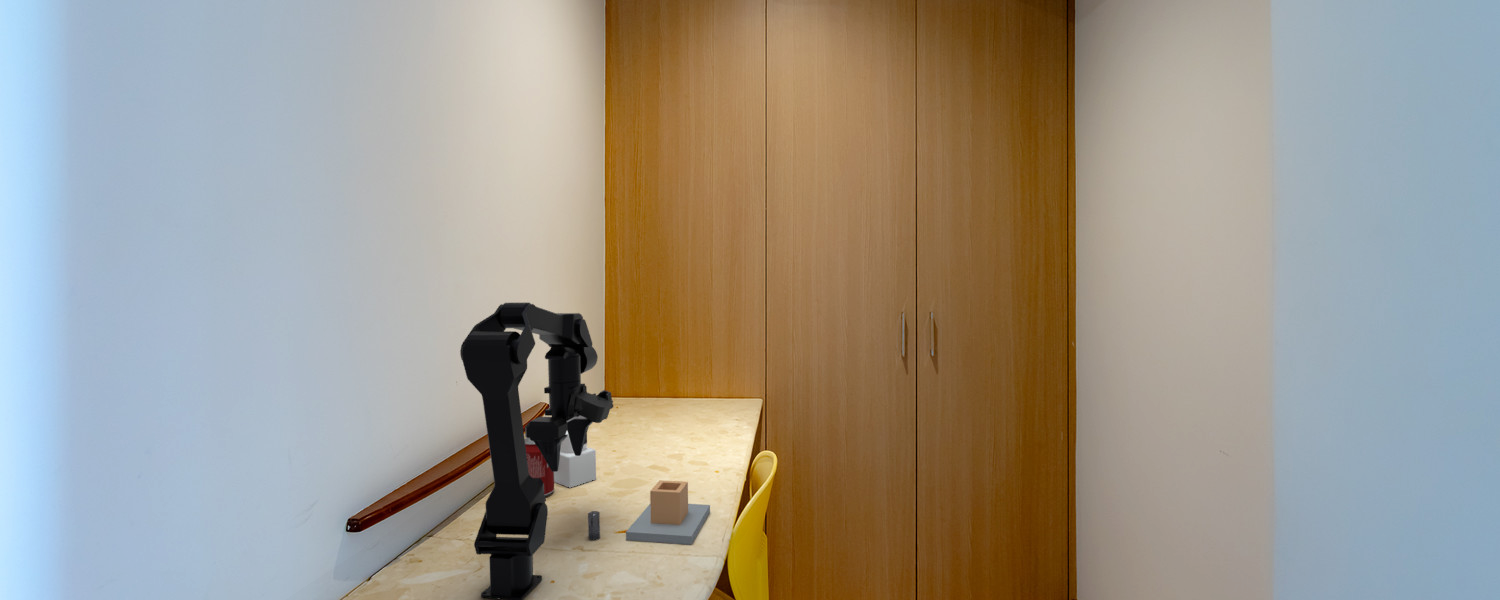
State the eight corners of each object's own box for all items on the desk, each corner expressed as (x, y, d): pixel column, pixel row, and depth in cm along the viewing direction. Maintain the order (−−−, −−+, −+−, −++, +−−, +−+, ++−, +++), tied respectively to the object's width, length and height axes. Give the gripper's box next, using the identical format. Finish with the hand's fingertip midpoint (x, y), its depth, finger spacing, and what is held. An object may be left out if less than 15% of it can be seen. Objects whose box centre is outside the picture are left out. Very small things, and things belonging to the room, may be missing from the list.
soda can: (543, 501, 123) (542, 444, 123) (514, 499, 125) (512, 443, 124) (560, 489, 130) (558, 435, 129) (532, 487, 131) (530, 434, 131)
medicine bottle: (578, 473, 141) (577, 423, 140) (596, 479, 136) (595, 428, 136) (551, 481, 135) (550, 429, 135) (569, 488, 131) (568, 435, 130)
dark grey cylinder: (597, 540, 105) (596, 515, 105) (586, 540, 105) (586, 515, 105) (601, 535, 107) (601, 511, 107) (591, 535, 107) (590, 510, 107)
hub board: (691, 544, 103) (691, 513, 103) (626, 540, 105) (625, 509, 105) (710, 512, 117) (709, 485, 117) (651, 508, 119) (651, 482, 119)
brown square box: (680, 524, 108) (679, 492, 108) (650, 523, 109) (650, 491, 108) (688, 512, 113) (687, 481, 113) (660, 510, 114) (659, 480, 114)
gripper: (583, 391, 99) (585, 482, 100) (624, 372, 118) (626, 449, 119) (522, 390, 101) (524, 479, 102) (572, 371, 120) (574, 447, 120)
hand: (566, 463), depth 111 cm, fingers open, 9 cm apart
